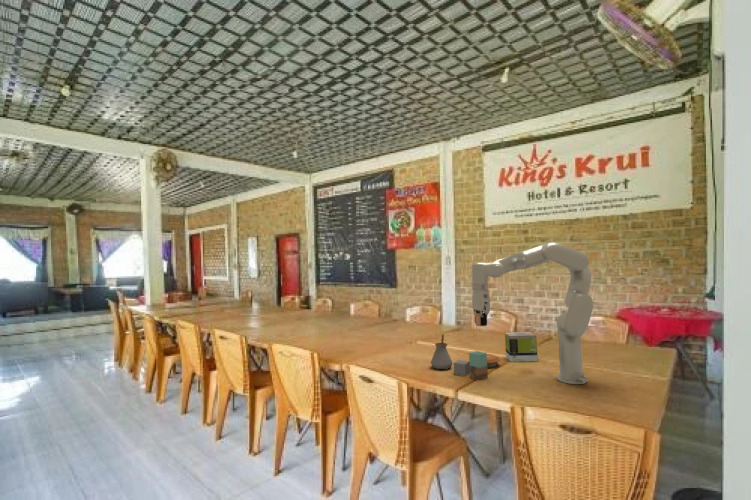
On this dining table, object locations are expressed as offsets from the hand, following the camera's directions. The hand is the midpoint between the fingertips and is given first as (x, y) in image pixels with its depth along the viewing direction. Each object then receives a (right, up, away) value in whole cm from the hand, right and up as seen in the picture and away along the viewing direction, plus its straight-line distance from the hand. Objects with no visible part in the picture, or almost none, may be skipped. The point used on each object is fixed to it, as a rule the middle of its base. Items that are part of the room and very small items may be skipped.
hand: (480, 323), depth 186 cm
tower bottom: (-1, -26, -1) cm, 26 cm away
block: (-8, -27, +6) cm, 28 cm away
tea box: (+31, -26, +28) cm, 49 cm away
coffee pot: (-15, -27, +22) cm, 38 cm away
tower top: (-1, -20, -1) cm, 20 cm away
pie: (+8, -27, +20) cm, 34 cm away
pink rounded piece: (0, -1, 0) cm, 1 cm away
